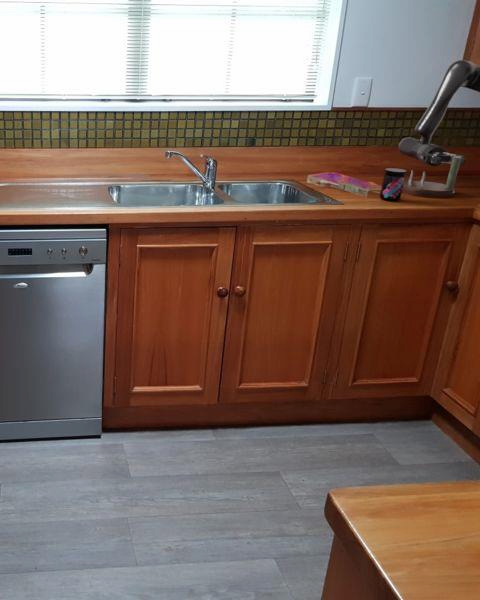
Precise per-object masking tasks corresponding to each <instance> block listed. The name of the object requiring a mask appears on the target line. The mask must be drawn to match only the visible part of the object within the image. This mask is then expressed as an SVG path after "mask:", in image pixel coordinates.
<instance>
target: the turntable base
mask: <svg viewBox="0 0 480 600" xmlns="http://www.w3.org/2000/svg"><path fill="white" fill-rule="evenodd" d="M403 192H404V193H403ZM402 193H403V194H406V193H408V194H407V195H410V194H412V195H411V196H414V195H416V196H415V197H420V196H421V197H422V198H429V199H450V198H453V197H455V193H456V191H455V190H454V191H453V192H452V193H426V192H419V191H413V190H409V189H406V188H404V187H403V189H402Z"/></svg>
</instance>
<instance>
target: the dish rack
mask: <svg viewBox="0 0 480 600" xmlns="http://www.w3.org/2000/svg"><path fill="white" fill-rule="evenodd" d="M460 161H461V158H460V157H453V159H452V163H451V164H450V168H449V171H448V175H447V179H446V183H445V184H444V183H440V182H436V181H435V182H434V181H425V180H426V171H424V170H423V172H422V176H421V180H413V178H414V170H410V171H411V172H410V176H409V178H408V180H407V181H404V185H403V187H404V188H406V189H409V190H413V191H419V192H426V193H452V192H453V191H455V184H456V180H457V176H458V173H459V169H460V166H461V165H460Z"/></svg>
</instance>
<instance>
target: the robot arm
mask: <svg viewBox="0 0 480 600" xmlns="http://www.w3.org/2000/svg"><path fill="white" fill-rule="evenodd" d="M461 87H462V88H466V89H469V90H472V91H476V92H478V93H480V66H479V65H477V64H476V63H475V62H473V61H470V60H464V59H459V60H456V61H454V62H452V63H451V64H450V65H449V66H448V68H447V69H446V71H445V73H444V76H443V78H442V80H441V83H440V84H439V87H438V89H437V91H436V93H435V95H434V97H433V98H432V100H431V102H430V104H429V106H427V108H426V110H425V112H424V113H423V115H422V116H421V118H420V119H419V121H418V123H417V124H416V125H415V127H414V131H415V133H416V134H418V135H419V136H420V139H416V138H414V137H411V136H409V137H404V138H403V139H402V140H401V141H400V142H399V143H398V151H399V153H400V154H401V155H404V156H407V157H410V158H412V159H415V160H417V161H420V162H421V163H423V164H426V165H428V166H431V167H438V166H441V165H443V164H449V165H451V163H452V159H453V157H460V158H461V161H460V165H459V166H464V165H465V164H466V161H467V159H466V158H467V156H465V155H461V154H458V153H456V154H455V153H449V152H447V150H446V148H445V147H443V146H440V145H437V144H434V143H430V142H431V139H432V137H433V135H434V133H435V131H436V130H437V129H438V127H439V125H440V124H441V122H442V121H443V119H444V117H445V114H446V112H447V109H448V107H449V105H450V102H451V101H452V99H453V97H454V95H455V94H456V93H457V92H458V90H459V89H460V88H461Z"/></svg>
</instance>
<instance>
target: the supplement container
mask: <svg viewBox="0 0 480 600" xmlns="http://www.w3.org/2000/svg"><path fill="white" fill-rule="evenodd" d="M407 171H408V170H406V169H402V168H395V167H394V168H393V167H391V168H390V167H389V168H387V167H386V168H385V170H384V175H383V179H382V184H381V186H382V188H380V193H379V198H380V200H382V201H384V202H385V201H386V202H399V201H401V198H402V194H403V192H402V189H403V185H404V182H406V181H405V180H406V176H407Z"/></svg>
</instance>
